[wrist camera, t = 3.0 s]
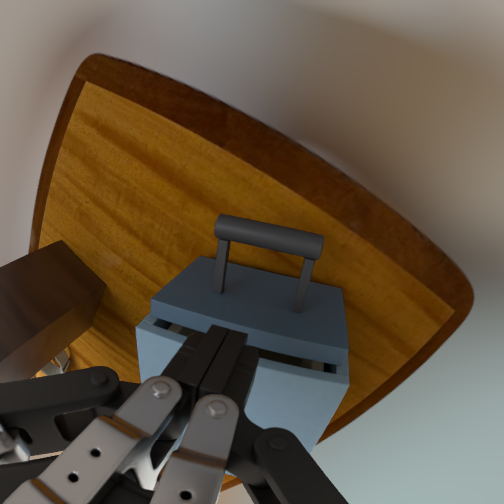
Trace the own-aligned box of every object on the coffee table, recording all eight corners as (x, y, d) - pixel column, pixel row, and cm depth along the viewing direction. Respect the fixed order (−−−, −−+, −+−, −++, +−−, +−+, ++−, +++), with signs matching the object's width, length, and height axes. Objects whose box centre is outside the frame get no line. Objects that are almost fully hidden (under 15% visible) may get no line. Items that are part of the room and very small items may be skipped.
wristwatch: (47, 322, 34) (25, 338, 29) (75, 351, 34) (54, 370, 29) (44, 354, 37) (26, 369, 32) (70, 379, 37) (53, 396, 32)
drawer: (206, 195, 21) (152, 215, 14) (359, 226, 20) (380, 265, 12) (192, 375, 28) (159, 428, 20) (299, 404, 26) (289, 466, 19)
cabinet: (195, 268, 25) (134, 326, 16) (342, 303, 23) (350, 385, 14) (189, 385, 30) (152, 447, 21) (299, 414, 28) (286, 487, 19)
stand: (60, 239, 28) (-83, 313, 9) (106, 284, 28) (-39, 394, 9) (50, 286, 31) (-63, 361, 12) (90, 327, 31) (-20, 425, 12)
